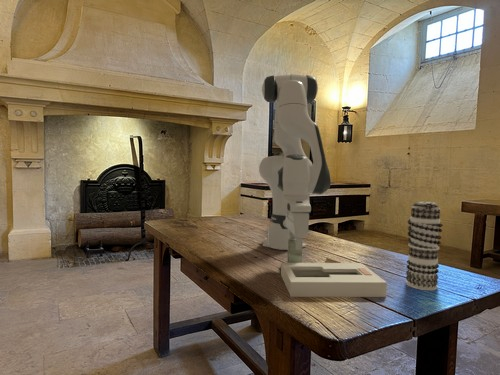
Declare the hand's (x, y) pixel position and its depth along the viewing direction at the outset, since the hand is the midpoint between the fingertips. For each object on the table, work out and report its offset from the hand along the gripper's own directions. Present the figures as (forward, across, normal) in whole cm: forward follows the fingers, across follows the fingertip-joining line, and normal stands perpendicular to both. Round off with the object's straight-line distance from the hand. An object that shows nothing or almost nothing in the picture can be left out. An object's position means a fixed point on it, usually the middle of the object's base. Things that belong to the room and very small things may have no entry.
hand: (295, 246), depth 110 cm
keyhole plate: (+9, +12, +8) cm, 17 cm away
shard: (+9, -7, +14) cm, 18 cm away
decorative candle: (+10, +12, +36) cm, 39 cm away
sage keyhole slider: (+9, -1, 0) cm, 9 cm away
